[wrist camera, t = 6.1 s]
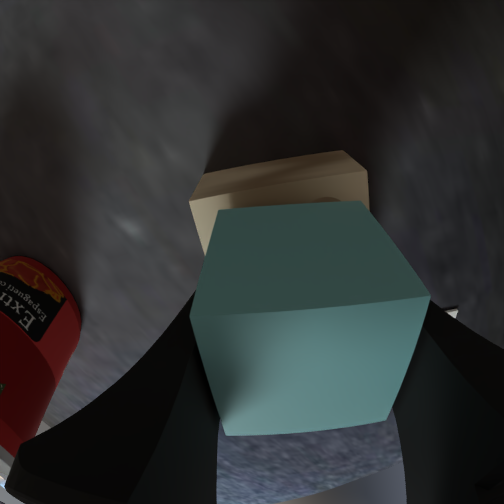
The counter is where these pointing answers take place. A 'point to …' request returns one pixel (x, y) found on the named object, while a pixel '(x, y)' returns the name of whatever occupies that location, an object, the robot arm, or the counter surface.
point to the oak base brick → (278, 186)
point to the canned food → (31, 348)
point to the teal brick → (305, 317)
